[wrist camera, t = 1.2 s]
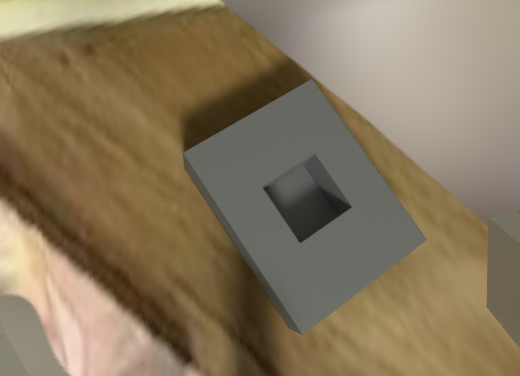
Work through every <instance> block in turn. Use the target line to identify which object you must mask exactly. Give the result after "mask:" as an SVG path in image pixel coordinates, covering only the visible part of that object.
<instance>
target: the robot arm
mask: <svg viewBox="0 0 520 376" xmlns="http://www.w3.org/2000/svg"><path fill="white" fill-rule="evenodd" d="M487 308H488V309H489V310H490V312H491V313H492V314H493V315H494V317H495V318H496V319H497V320H498V322H499V323H500V324H501V325H502V327H503V328H504V329H505V330H506V332H507V333H508V334H509V336H510V337H511V338H512V339H513V341H514V342H515V343H516V344H517V346H518V347H519V348H520V211H519V212H513V213H507V214H501V215H495V216H489V221H488V268H487ZM0 376H28V373H27V372H26V370H25V368H24V366H23V364H22V363H21V361H20V359H19V357H18V355H17V354H16V352H15V350H14V348H13V346H12V345H11V343H10V341H9V339H8V337H7V336H6V334H5V332H4V330H3V328H2V327H1V325H0Z"/></svg>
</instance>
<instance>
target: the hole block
mask: <svg viewBox="0 0 520 376" xmlns="http://www.w3.org/2000/svg"><path fill="white" fill-rule="evenodd" d="M183 157H184V166H185V170H186V171H187V173H188V174H189V176H190V178H191V179H192V181H193V182H194V184H195V185H196V187H197V188H198V190H199V191H200V193H201V194H202V196H203V197H204V199H205V200H206V202H207V204H208V205H209V207H210V208H211V210H212V211H213V213H214V214H215V216H216V217H217V219H218V220H219V222H220V223H221V225H222V227H223V228H224V230H225V231H226V233H227V234H228V236H229V237H230V239H231V240H232V242H233V243H234V245H235V246H236V248H237V250H238V251H239V253H240V254H241V256H242V257H243V259H244V260H245V262H246V263H247V265H248V266H249V268H250V269H251V271H252V273H253V274H254V276H255V277H256V279H257V280H258V282H259V283H260V285H261V286H262V288H263V289H264V291H265V292H266V294H267V296H268V297H269V299H270V300H271V302H272V303H273V305H274V306H275V308H276V309H277V311H278V312H279V314H280V315H281V317H282V319H283V320H284V322H285V323H286V325H287V326H288V328H289V329H291V330H293V331H295V332H297V333H299V334H301V335H303V334H305V333H306V332H307V331H309V330H310V329H311V328H312V327H314V326H315V325H316V324H318V323H319V322H320V321H322V320H323V319H324V318H325V317H327V316H328V315H329V314H331V313H332V312H333V311H335V310H336V309H337V308H339V307H340V306H341V305H342V304H344V303H345V302H346V301H348V300H349V299H350V298H352V297H353V296H354V295H355V294H357V293H358V292H359V291H361V290H362V289H363V288H365V287H366V286H367V285H368V284H370V283H371V282H372V281H374V280H375V279H376V278H378V277H379V276H380V275H381V274H383V273H384V272H385V271H387V270H388V269H389V268H391V267H392V266H393V265H394V264H396V263H397V262H398V261H400V260H401V259H402V258H404V257H405V256H406V255H407V254H409V253H410V252H411V251H413V250H414V249H415V248H417V247H418V246H419V245H420V244H422V243H423V242H424V241H426V240H427V239H426V238H425V236H424V235H423V233H422V232H421V231H420V229H419V228H418V226H417V225H416V224H415V222H414V221H413V219H412V218H411V217H410V215H409V214H408V212H407V211H406V210H405V208H404V207H403V205H402V204H401V203H400V201H399V200H398V198H397V197H396V196H395V194H394V193H393V191H392V190H391V189H390V187H389V186H388V184H387V183H386V182H385V180H384V179H383V177H382V176H381V175H380V173H379V172H378V170H377V169H376V168H375V166H374V165H373V163H372V162H371V161H370V159H369V158H368V156H367V155H366V154H365V152H364V151H363V149H362V148H361V147H360V145H359V144H358V142H357V141H356V140H355V138H354V137H353V135H352V134H351V133H350V131H349V130H348V128H347V127H346V125H345V124H344V123H343V121H342V120H341V118H340V117H339V116H338V114H337V113H336V111H335V110H334V109H333V107H332V106H331V104H330V103H329V102H328V100H327V99H326V97H325V96H324V95H323V93H322V92H321V90H320V89H319V88H318V86H317V85H316V83H315V82H314V81H313V79H311V80H309V81H307V82H306V83H304V84H302V85H300V86H299V87H297V88H295V89H293V90H292V91H290V92H288V93H286V94H285V95H283V96H281V97H280V98H278V99H276V100H274V101H273V102H271V103H269V104H267V105H266V106H264V107H262V108H260V109H259V110H257V111H255V112H253V113H252V114H250V115H248V116H246V117H245V118H243V119H241V120H239V121H238V122H236V123H234V124H232V125H231V126H229V127H227V128H225V129H224V130H222V131H220V132H218V133H217V134H215V135H213V136H211V137H210V138H208V139H206V140H205V141H203V142H201V143H199V144H198V145H196V146H194V147H192V148H191V149H189V150H187V151H185V152H184V153H183Z"/></svg>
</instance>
